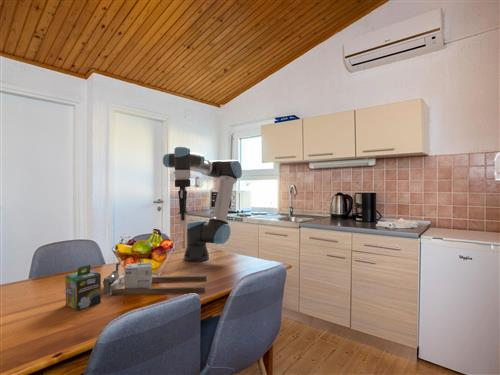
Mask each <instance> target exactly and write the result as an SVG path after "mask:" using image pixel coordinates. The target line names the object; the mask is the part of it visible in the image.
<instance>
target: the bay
mask: <svg viewBox="0 0 500 375" xmlns="http://www.w3.org/2000/svg"><path fill="white" fill-rule="evenodd" d="M198 281H199V282H204V281H207V275H170V276H169V275H168V276H167V275H166V276H152V283H165V282H166V283H167V282H169V283H170V282H171V283H172V282H198ZM123 286H125V272H124V273H122V274H121V275H119V278H118V279H117V280H116V281H115V282H114V283H113V284H111V285H110V292H109V293H110V296H125V295H126V296H127V295H129V296H130V295H155V294H161V295H162V294H184V293H185V294H189V293H205V292H206V286H205V285H203V286H202V285H201V286H199V285H198V286H165V287H151V288H128V289H125V288H123Z"/></svg>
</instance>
